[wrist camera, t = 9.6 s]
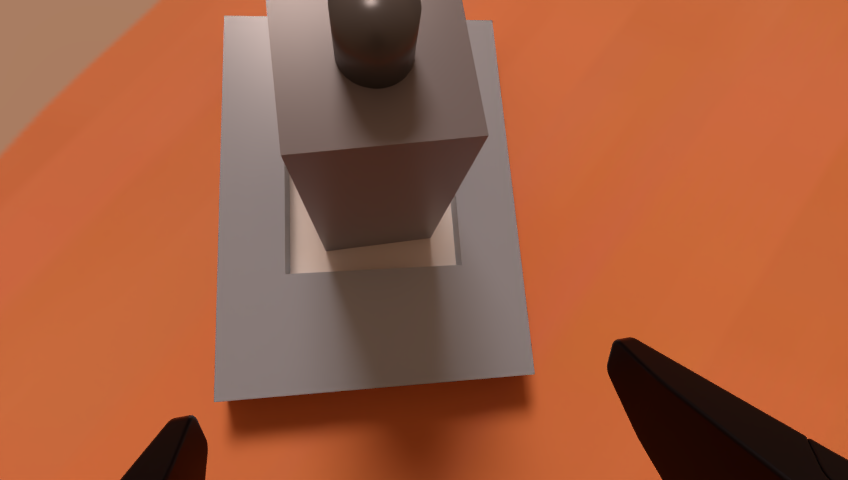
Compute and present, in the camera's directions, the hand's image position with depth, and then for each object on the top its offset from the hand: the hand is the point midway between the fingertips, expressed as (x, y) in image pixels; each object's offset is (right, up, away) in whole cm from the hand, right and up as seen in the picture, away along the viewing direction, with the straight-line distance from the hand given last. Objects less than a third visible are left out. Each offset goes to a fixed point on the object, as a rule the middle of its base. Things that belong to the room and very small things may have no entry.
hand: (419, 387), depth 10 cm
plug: (-2, +5, +10) cm, 12 cm away
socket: (-2, +5, +11) cm, 12 cm away
